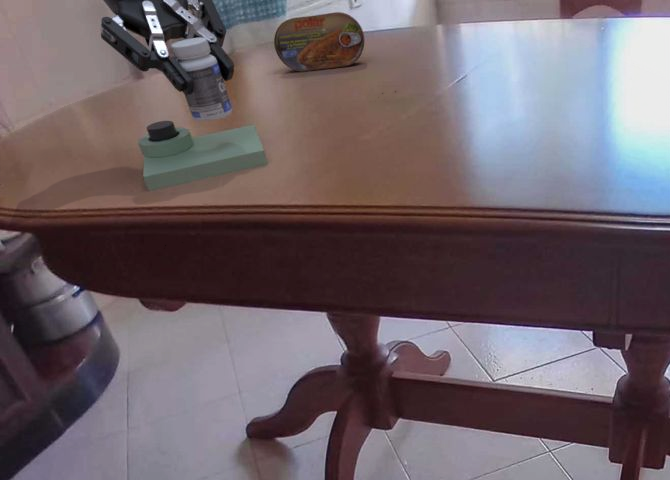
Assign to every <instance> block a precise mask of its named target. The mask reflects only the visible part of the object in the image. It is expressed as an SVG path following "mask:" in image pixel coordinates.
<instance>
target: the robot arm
mask: <svg viewBox="0 0 670 480" xmlns="http://www.w3.org/2000/svg"><path fill="white" fill-rule="evenodd" d="M102 1H103V2H104V3H105V5H106V6H107V7H108V9H110V11H111V12H112V13H113V14H114V15H115V16H113V17H112V18H111V17H109V16H103V17H102V18H101V22H100V38H101V39H102V41H104V42H105V43H107V44H108V45H109V46H110V47H111V48H113V49H114V50H115V51H116V52H117V53H119V54H120V55H121V56H122V57H123V58H125V59H126V60H127V61H128V62H129V63H131V64H132V65H133V66H134V67H136V69H138V70H139V71H141V72H144V73H145V72H148V71H149V70H150V69H156V70H157V71H159V72H162V74H163V75H164V76H165V77H166V79H167V81H169V82H170V83H171V85H172V87H173V88H174V89H175V90H177V91H178V92H180V93H181V92H182V93H183V94H184V96H185V95H189V94H192V93H193V89H194V82H193V80H192V79H191V77H190V76H189V75H188V74H187V72H186V71H185V70H184V69H183V67H182V66H181V65H180V64H179V62H178V59H176V58H175V56H174V55H173V56H170V52H169V50H168V46H167V44H166V43H167V42H169V41H170V40H178V39H180V41H182V40H186V39H191V38H206V39H207V41H208V44H209V47H210V51H211V52H210V53H209V54H210V55H212V56H214V57H215V58H216V60H217V62H218V65H219V68H220V71H221V75H222V78H223V81H224V82H228V81H231V80H232V79H233V77H234V73H235V63H234V61H233V60H232V59H231V57H230V56H229V55H228V54H227V53H226V51H225V50H224V48H223V46H224V43H225V39H226V34H227V28H226V26H225V24H224V22H223V20H222V18H221V16H220V14H219V12H218V10H217V8H216V6H215V3H214V2H213V0H102ZM190 11H191V12H193V14H194V15H193V14H192V13H191V12H190ZM128 31H129V32H130V33H131V32H132V33H134V34H135V35H138V36H140V37H142V38H143V41H144V43H145V44H142V43H141V42H140V41H139V40H138V39H136V38H135V37H134V36H133V35H132V34H130V33H129V32H128Z"/></svg>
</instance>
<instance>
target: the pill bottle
mask: <svg viewBox="0 0 670 480" xmlns="http://www.w3.org/2000/svg"><path fill="white" fill-rule="evenodd" d="M170 46H171V50H172V54H173V56H174V57H175V58H176V60H177V61H178V62H179V64H180V65H181V66H182V67H183V69H184V70H185V71H186V72H187V74H188V75H189V76H190V77H191V79H192V80H193V82H194V89H193V93H192V94H189V95H185V94H184V97H185V99H186V104H187V106H188V109H189V111H190V115H191V117H192V119H193V120H194V121H196V122H200V123H201V122H202V123H203V122H205V123H206V122H213V121H216V120H222V119H224V118H226V117H228V116H230V115H231V114H232V112H233V107H232V103H231V100H230V97H229V94H228V91H227V88H226V87H227V86H226V84H225V80H224V79H223V78H222V75H221V71H220V68H219V65H218V62H217V60H216V58H215V57H214V56H212V55H210V54H209V53H210V52H211V51H210V47H209V44H208V41H207V39H206V38H191V39H186V40H178V41H176V42H174V43H172V44H171V45H170Z"/></svg>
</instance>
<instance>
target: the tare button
mask: <svg viewBox="0 0 670 480" xmlns="http://www.w3.org/2000/svg"><path fill="white" fill-rule="evenodd" d="M175 127H176V125H175V123H174V121H173V120H162V121H156V122H153V123H151V124H149V125H147V127H146V131H147V134H149V136H150V139H151V141H152V142H160V141H164V140H169V139H171V138H174V137H176V136H178V134H177V131H176V129H175Z"/></svg>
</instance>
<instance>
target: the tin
mask: <svg viewBox="0 0 670 480" xmlns="http://www.w3.org/2000/svg"><path fill="white" fill-rule="evenodd" d="M273 37H274V38H273V45H274V46H273V47H274V50H275V53H276V55H277V57H278V58H279V60H280V61H281V62H282V63H283V64H284V65H285V66H286V67H287V68H289V69H291V70H293V71H296V72H300V73H304V72H305V73H306V72H312V71H313V72H314V71H320V70H327V69H336V68H344V67H349V66H351V65H353V64H355V63H356V62H357V61H358V60H359V59H360V57H361V56H362V54H363V51H364V47H365V34H364V31H363V27H362V26H361V24H360V23H359V22H358V21H357V20H356V18H354V17H353V16H352V15H350V14H348V13H345V12H341V11H338V12H337V11H336V12H329V13H321V14H315V15H306V16H305V15H304V16H298V17H292V18H289V19H286V20H284V21H283V22H282V23H280V24H279V26H278V27H277V28H276V31H275V34H274V36H273Z"/></svg>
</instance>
